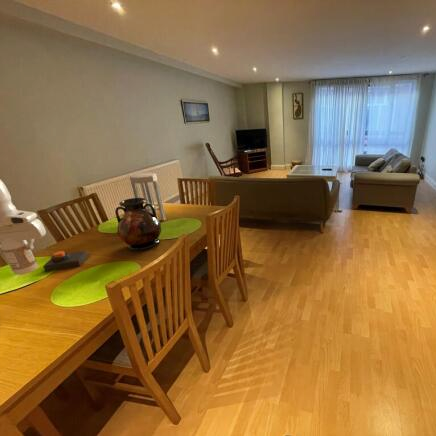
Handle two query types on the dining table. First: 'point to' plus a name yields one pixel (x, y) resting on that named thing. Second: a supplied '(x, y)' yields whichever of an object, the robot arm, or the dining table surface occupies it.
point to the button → (59, 254)
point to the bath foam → (18, 256)
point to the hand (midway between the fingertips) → (17, 250)
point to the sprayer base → (66, 261)
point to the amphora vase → (138, 225)
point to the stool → (148, 191)
